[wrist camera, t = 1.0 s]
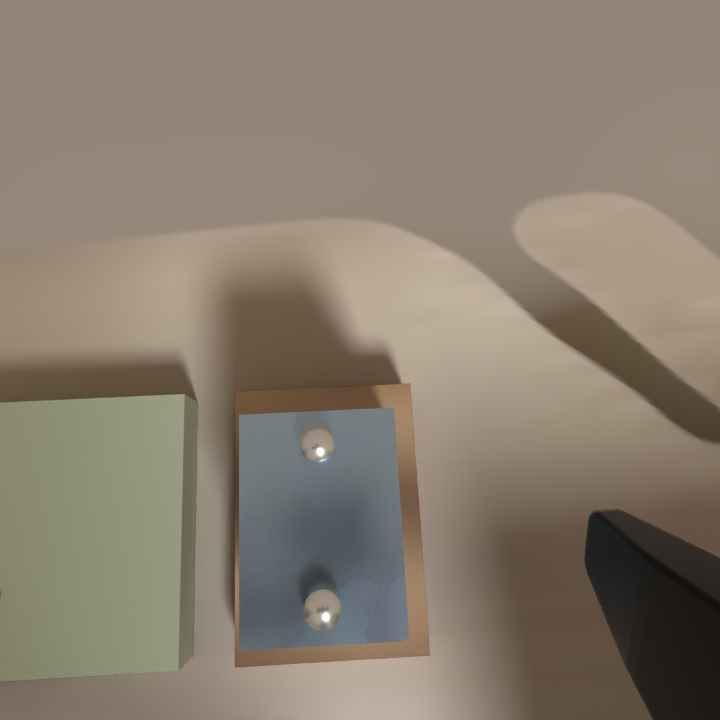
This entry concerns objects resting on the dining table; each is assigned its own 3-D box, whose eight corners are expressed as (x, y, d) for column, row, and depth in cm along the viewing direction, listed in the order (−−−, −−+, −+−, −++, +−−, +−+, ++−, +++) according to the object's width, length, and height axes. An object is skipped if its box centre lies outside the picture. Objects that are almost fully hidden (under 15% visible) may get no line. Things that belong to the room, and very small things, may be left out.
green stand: (193, 655, 22) (178, 670, 20) (-43, 669, 22) (-81, 686, 20) (197, 402, 24) (184, 393, 23) (-15, 412, 24) (-47, 404, 22)
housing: (399, 612, 21) (420, 658, 15) (262, 620, 21) (227, 670, 15) (387, 421, 22) (401, 393, 16) (260, 428, 22) (228, 401, 16)
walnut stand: (422, 641, 22) (429, 655, 20) (244, 652, 22) (234, 667, 20) (405, 392, 25) (410, 383, 23) (244, 400, 25) (235, 391, 23)
